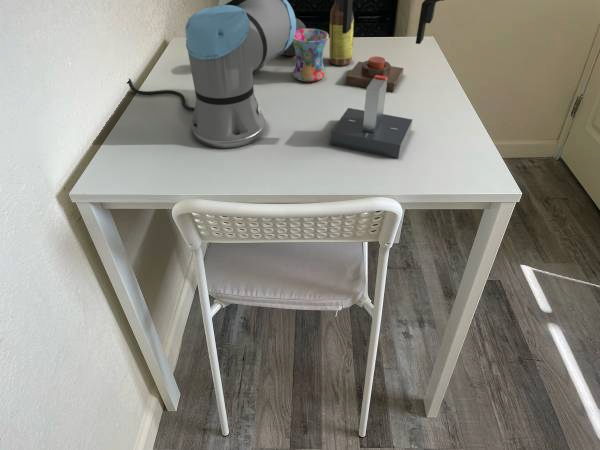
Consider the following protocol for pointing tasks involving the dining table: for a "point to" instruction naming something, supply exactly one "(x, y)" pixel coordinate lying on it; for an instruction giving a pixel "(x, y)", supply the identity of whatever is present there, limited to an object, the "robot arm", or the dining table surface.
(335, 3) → the sauce bottle
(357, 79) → the button block
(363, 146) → the panel
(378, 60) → the button
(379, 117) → the tap handle
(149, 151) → the dining table surface
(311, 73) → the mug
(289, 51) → the decorative ball
